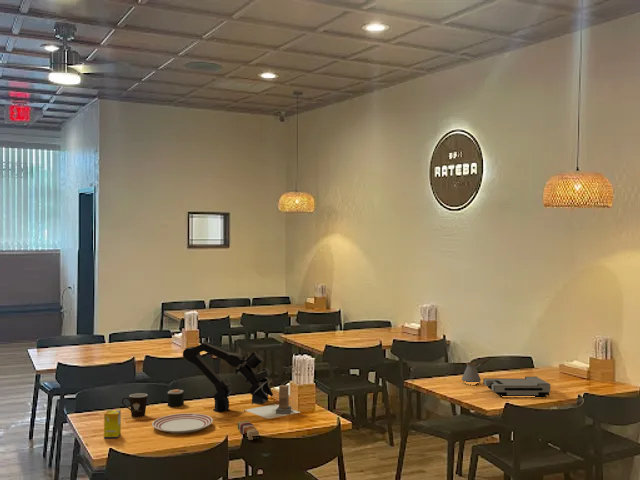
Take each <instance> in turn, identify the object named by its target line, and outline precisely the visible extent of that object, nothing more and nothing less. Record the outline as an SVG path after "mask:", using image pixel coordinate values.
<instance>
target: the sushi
mask: <svg viewBox="0 0 640 480" xmlns="http://www.w3.org/2000/svg"><path fill="white" fill-rule="evenodd" d="M184 404H185V391H184V390H183V389H178V388H177V389H171V390H168V391H167V407H168V406H170V407H169V408H179V406H180V407H182V405H183V406H184Z"/></svg>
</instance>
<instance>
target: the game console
mask: <svg viewBox="0 0 640 480" xmlns="http://www.w3.org/2000/svg"><path fill="white" fill-rule="evenodd" d="M482 380H483V385H484V386H485V387H487V388H488V389H489V388H490V390H491V391H492V392H494V393H495V394H496V395H497V396H500V395H502V396H535V397H546V398H547V396H550V393H551V383H549V382H547V381H546V380H543V379H541V378H540V377H538V376H524V378H488V377H487V378H482Z"/></svg>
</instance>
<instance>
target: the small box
mask: <svg viewBox="0 0 640 480" xmlns="http://www.w3.org/2000/svg"><path fill="white" fill-rule="evenodd" d="M264 393H265V392H264ZM253 394H254V393H253ZM253 394H252V395H251V405H253V404H257V405H258V404H260V405H263V404H265V403H266V402H268V401H269V399H268V400H265V399H262V398H260V397H258V396H255V395H253ZM265 394H266V395H267V397H268V398H269V395H268V394H267V393H265Z"/></svg>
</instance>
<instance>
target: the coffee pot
mask: <svg viewBox="0 0 640 480" xmlns="http://www.w3.org/2000/svg"><path fill="white" fill-rule="evenodd" d="M489 361H493V360H492V358H491V357H490V358H488V359H486V360H484V361H482V362H480V363H479V364H478V365H477V362H472V361H471V362H470V361H469V362H465V363H466V368H465V370H464V372H463V375H462V377H461V381H462V380H463V381H466V382H479V383H480V382H481V381H482V380H481V377H480V375H479V372H478V369H477V368H479V367H481V366H482V365H484V364H486V363H487V362H489ZM463 381H462V382H463Z"/></svg>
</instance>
